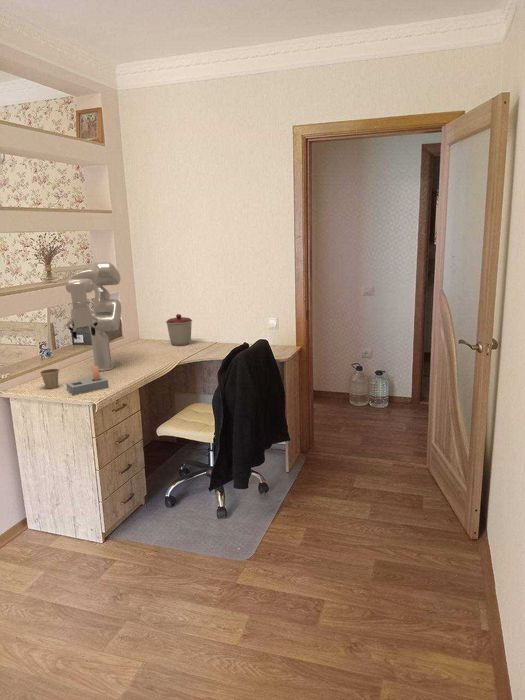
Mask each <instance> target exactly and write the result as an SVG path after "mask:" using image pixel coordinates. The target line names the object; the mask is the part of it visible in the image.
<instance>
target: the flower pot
mask: <svg viewBox="0 0 525 700" xmlns="http://www.w3.org/2000/svg"><path fill="white" fill-rule="evenodd" d="M59 372H60V369H59V368H47V369H44V370H41V371H40V372H39V374H40V375H41V377H42V380H43V384H44V386H45V387H44V388H46V389H54V387H55V388H57V387H59Z"/></svg>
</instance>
